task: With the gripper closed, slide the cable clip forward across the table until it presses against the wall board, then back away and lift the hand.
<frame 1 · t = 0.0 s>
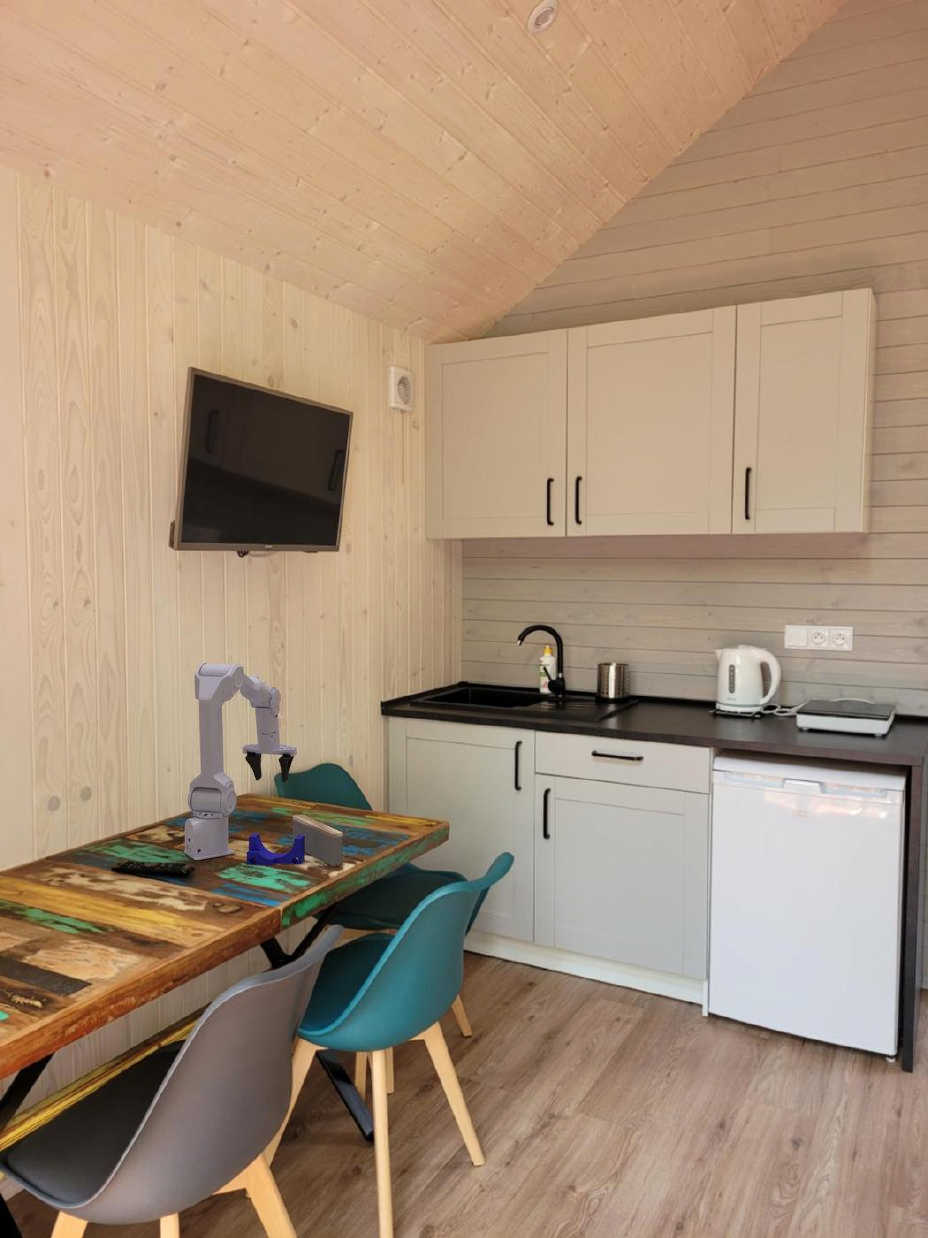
hand: (271, 780, 248), 11 cm above the table, tool pointing down, fingers open, 7 cm apart
wall board: (316, 854, 217), on the table
cable clip: (275, 864, 211), on the table
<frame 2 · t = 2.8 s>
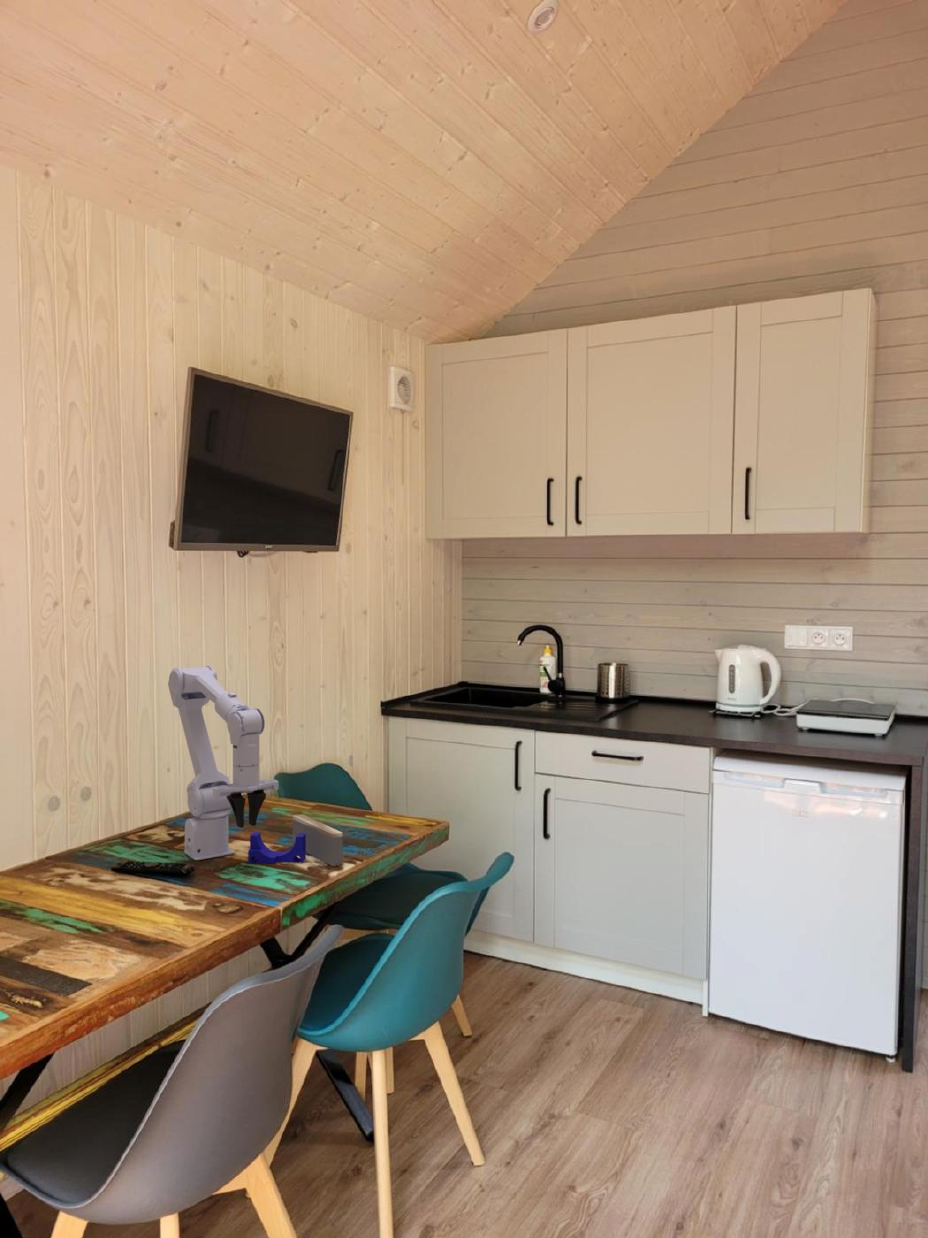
hand: (246, 825, 206), 9 cm above the table, tool pointing down, fingers closed
cable clip: (277, 862, 212), on the table
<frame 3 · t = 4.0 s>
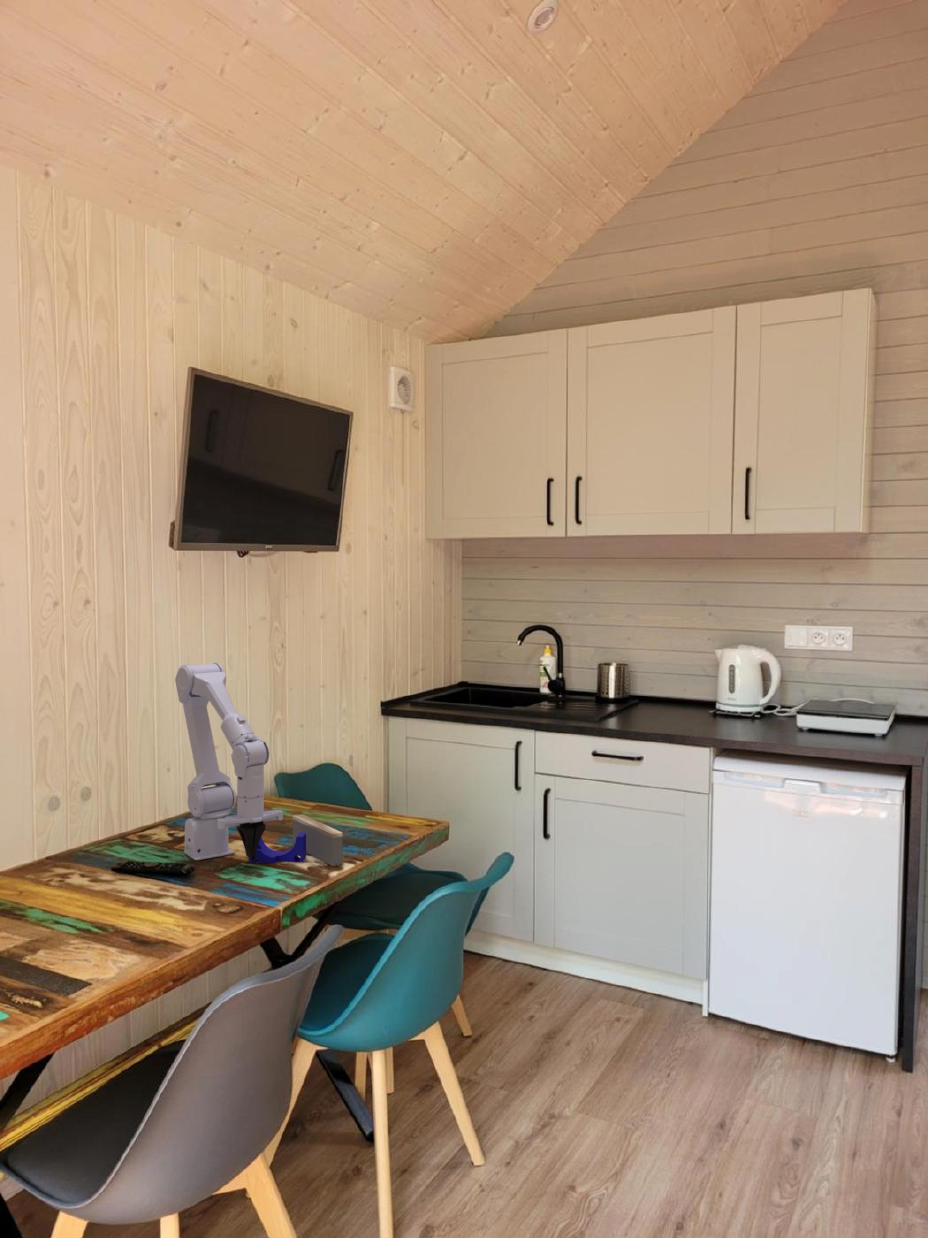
hand: (250, 856, 207), 2 cm above the table, tool pointing down, fingers closed
nothing on the table moved.
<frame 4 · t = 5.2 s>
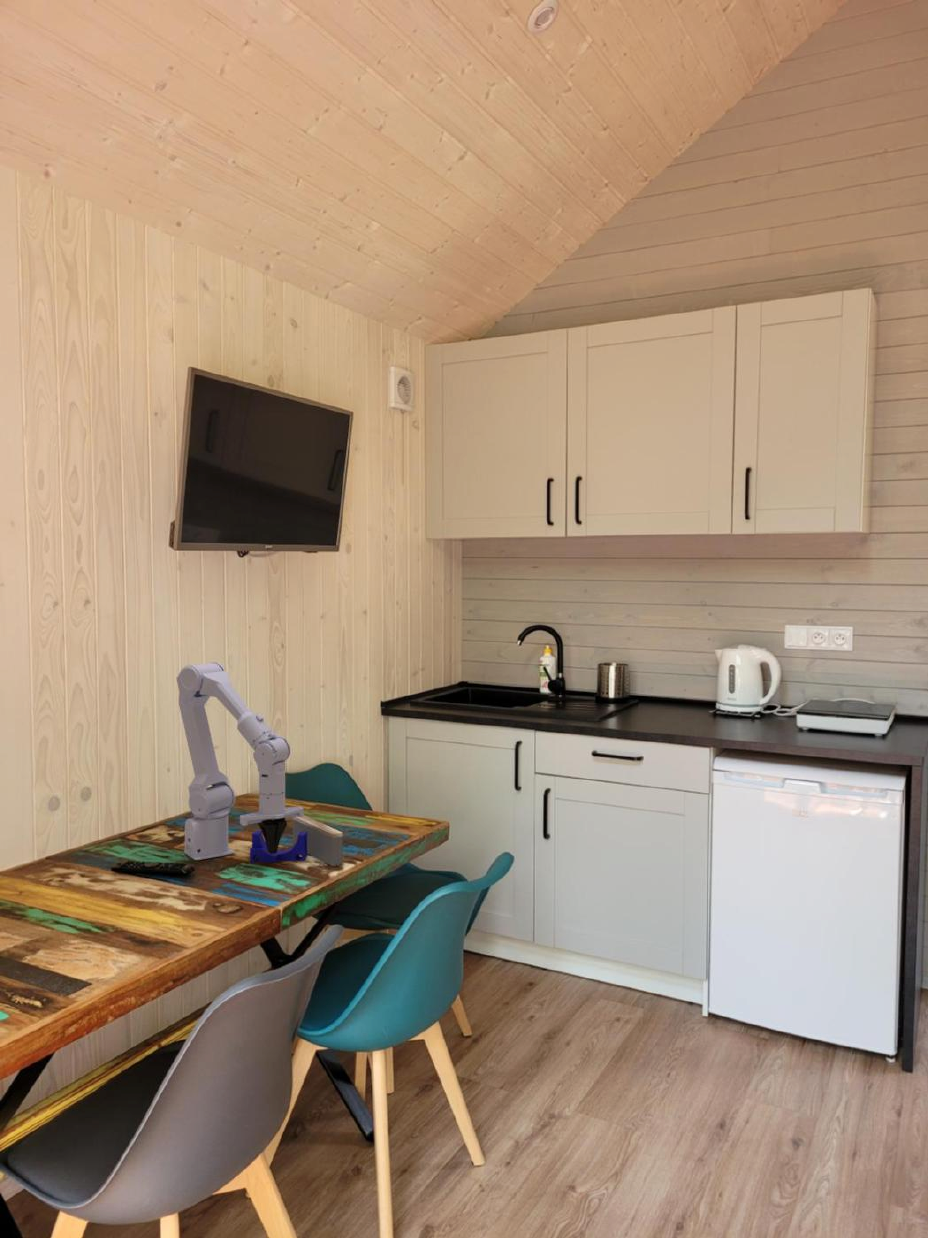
hand: (272, 852, 210), 2 cm above the table, tool pointing down, fingers closed
cable clip: (278, 861, 213), on the table, touching gripper
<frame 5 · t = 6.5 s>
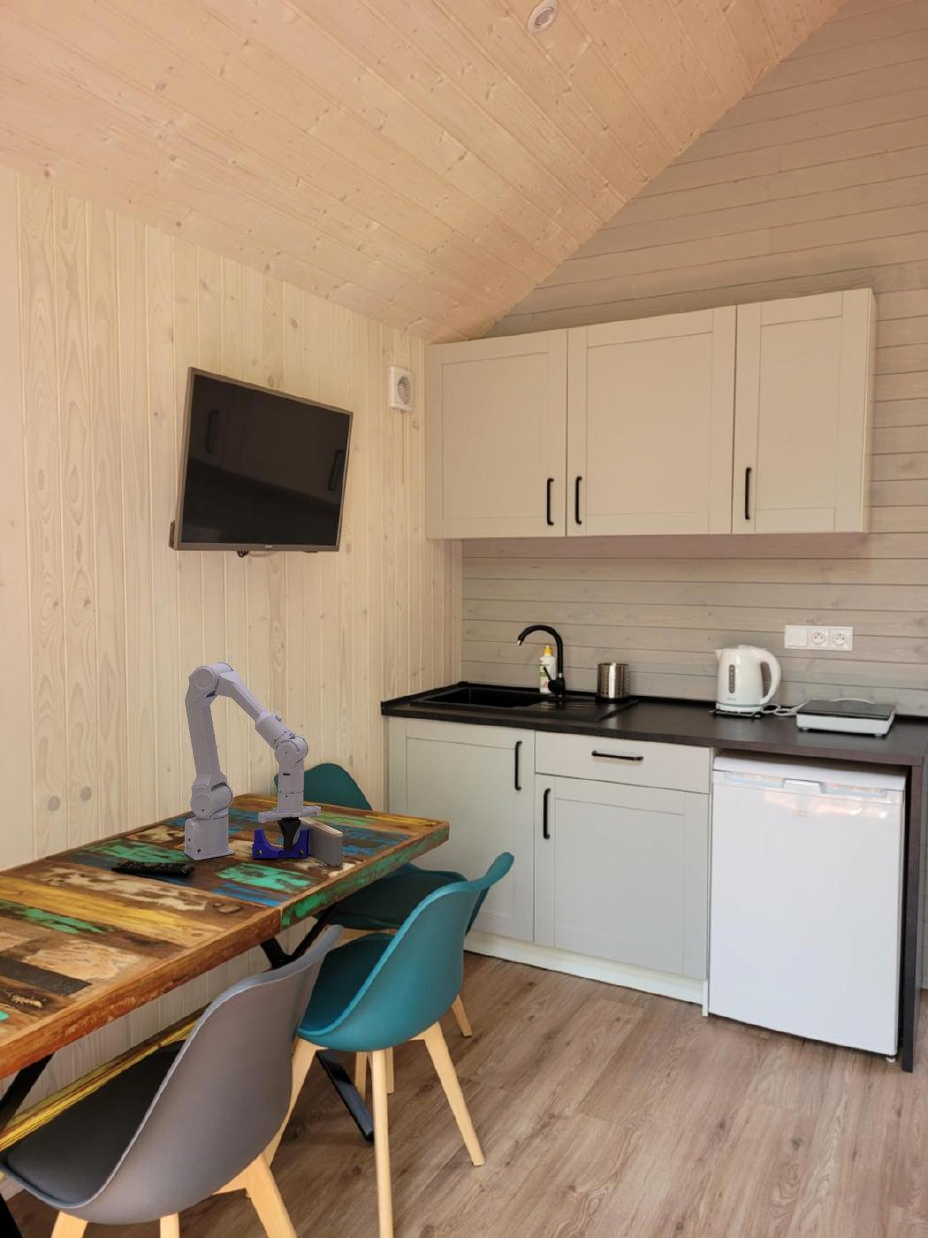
hand: (289, 850, 213), 2 cm above the table, tool pointing down, fingers closed, pressing on cable clip
cable clip: (280, 857, 214), on the table, touching gripper, wall board
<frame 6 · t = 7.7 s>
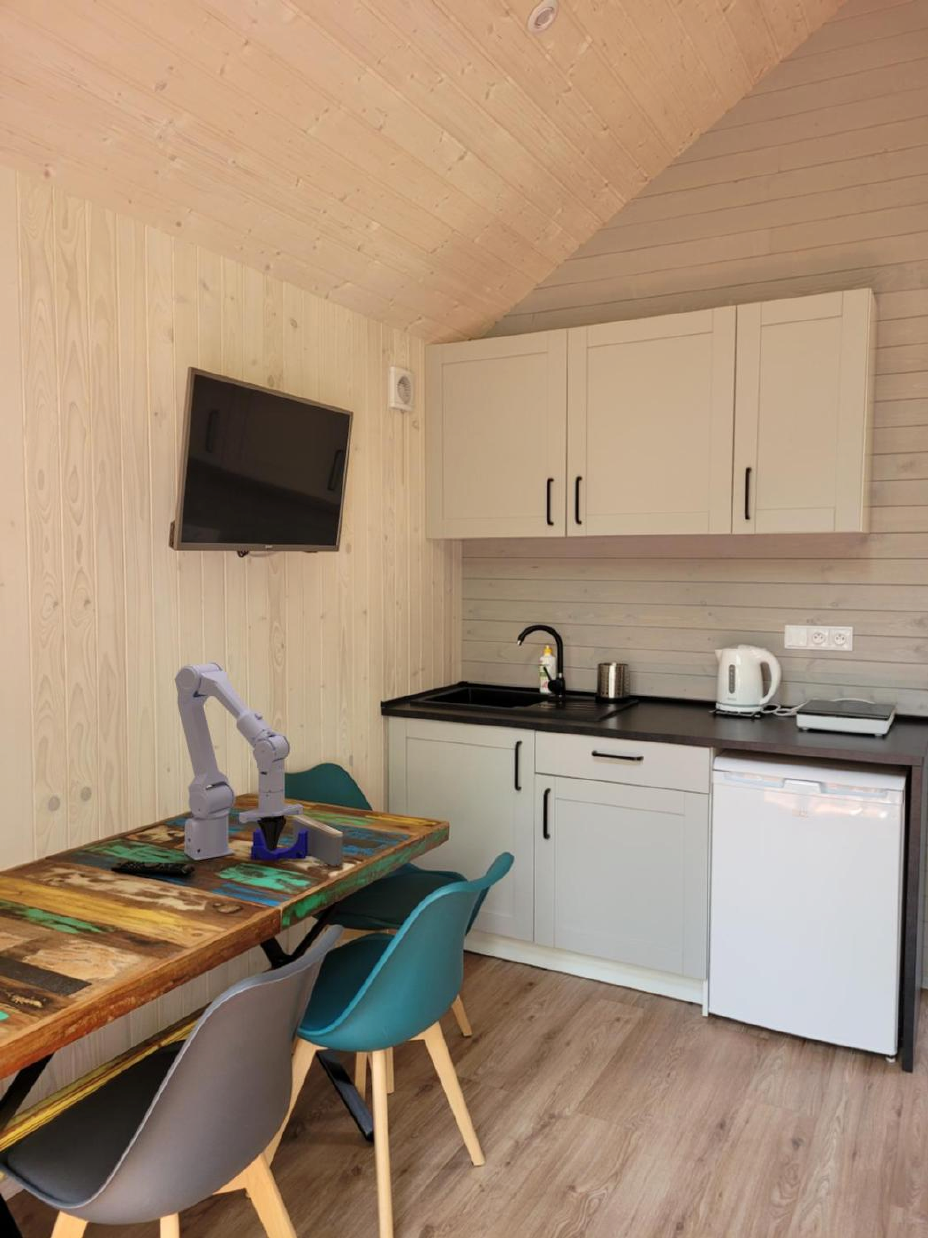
hand: (271, 850, 210), 3 cm above the table, tool pointing down, fingers closed
cable clip: (279, 858, 215), on the table
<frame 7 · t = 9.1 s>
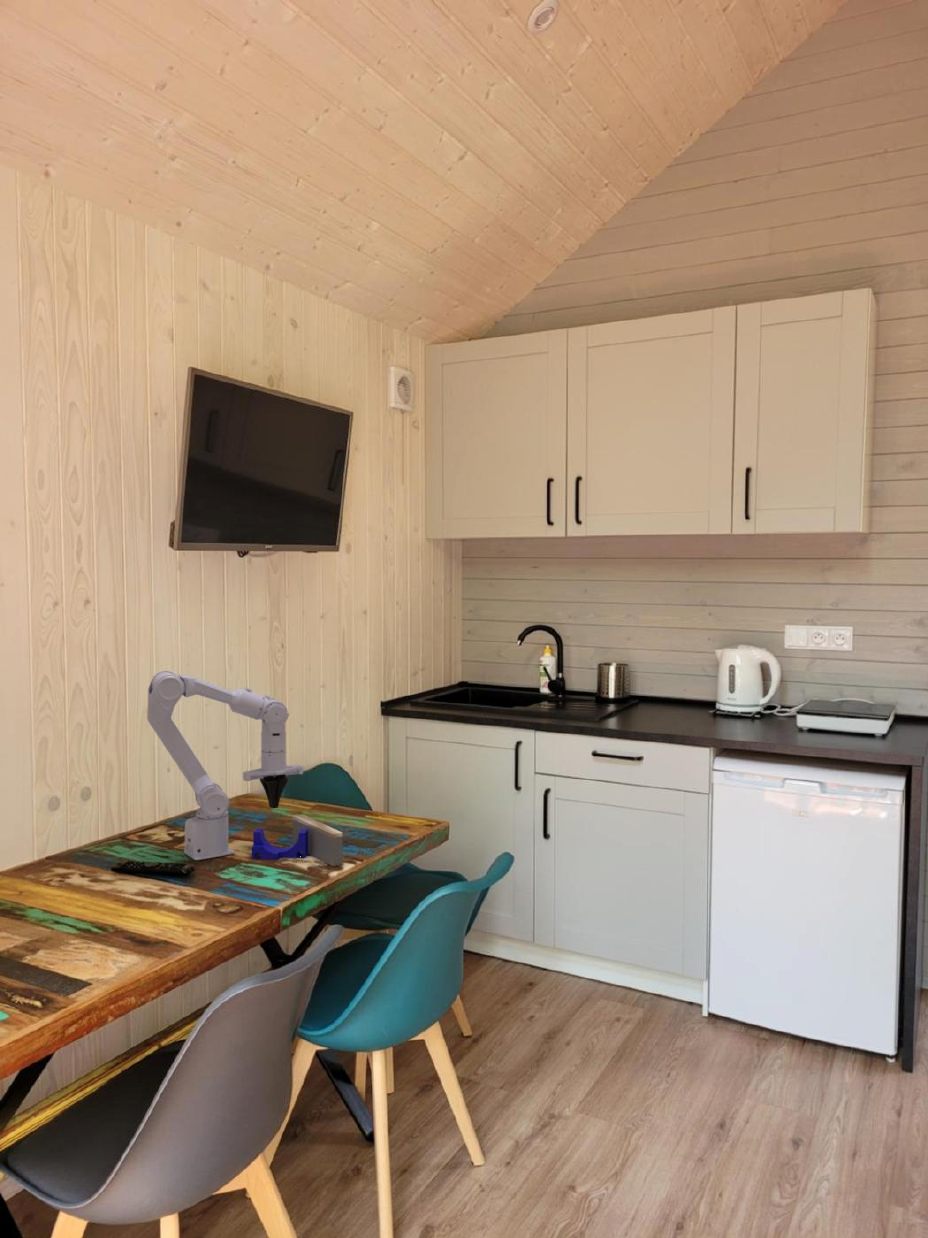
hand: (273, 807, 223), 9 cm above the table, tool pointing down, fingers closed
nothing on the table moved.
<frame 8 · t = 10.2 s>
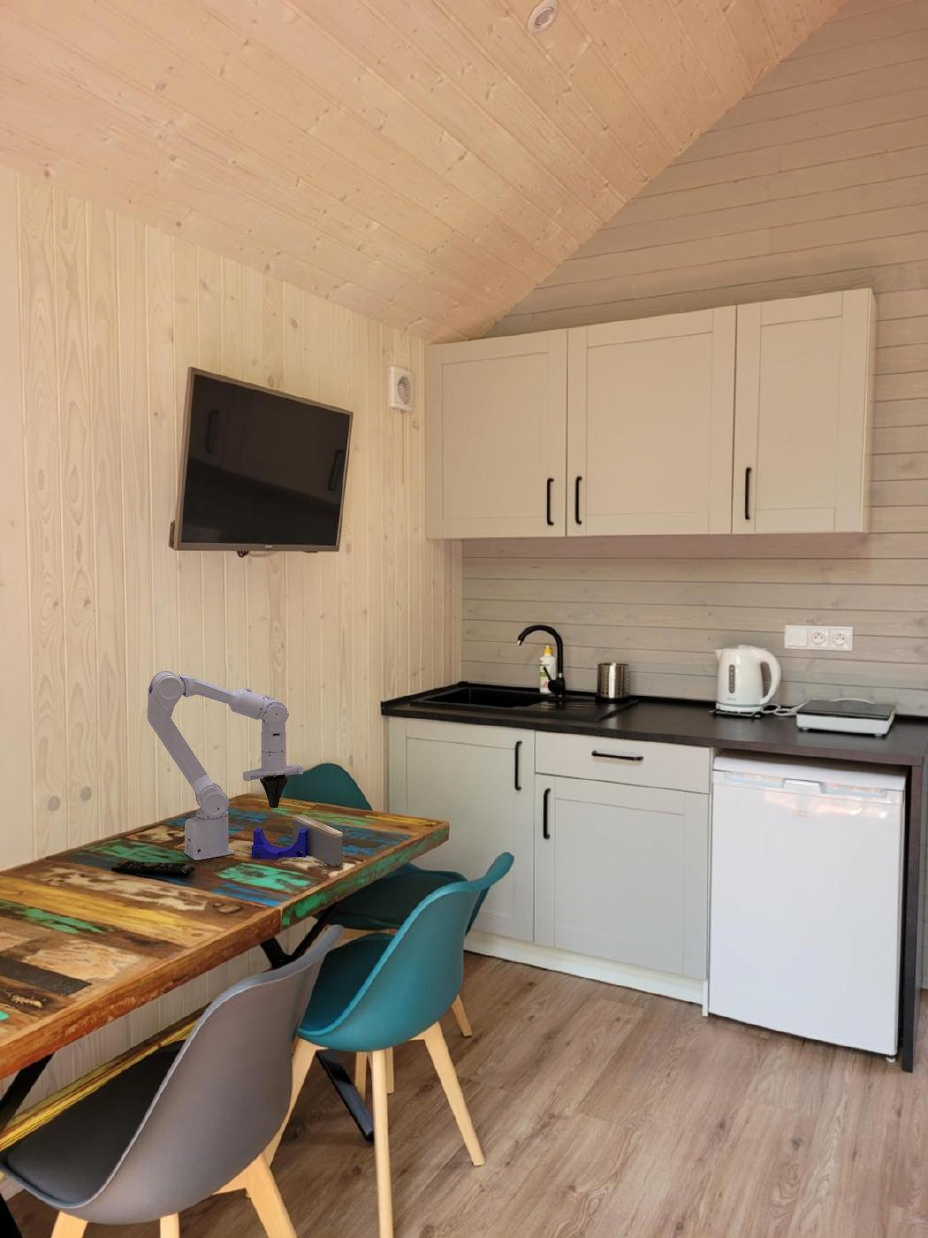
hand: (273, 807, 223), 9 cm above the table, tool pointing down, fingers closed
nothing on the table moved.
at the end: cable clip inside the target area (3.6 cm from its centre), on the table; cable clip tilted 0°; cable clip moved 5.0 cm from its start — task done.
